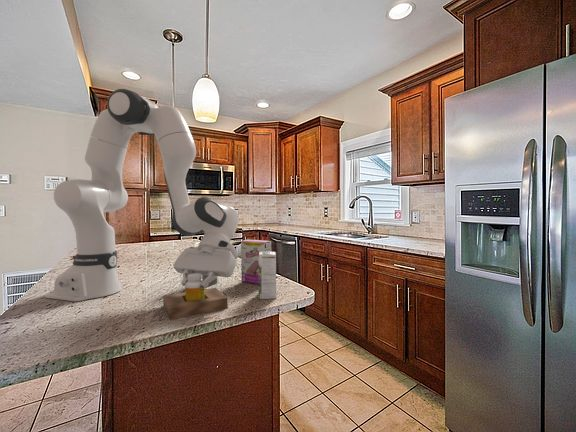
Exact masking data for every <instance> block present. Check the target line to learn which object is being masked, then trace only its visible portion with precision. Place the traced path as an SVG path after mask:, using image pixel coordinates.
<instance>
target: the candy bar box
mask: <svg viewBox="0 0 576 432" xmlns="http://www.w3.org/2000/svg"><path fill="white" fill-rule="evenodd" d="M240 244H241V245H240V251H241V252H240V253H241V255H240V256H241V257H240V258H241V260H240V261H241V283H246V284H253V285H254V284H255V285H258V267H259V252H265V251H270V252H272V241H271V240H263V239H262V240H259V239H243V240H241V241H240Z"/></svg>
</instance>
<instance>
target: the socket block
mask: <svg viewBox="0 0 576 432" xmlns="http://www.w3.org/2000/svg"><path fill="white" fill-rule="evenodd" d="M204 292H205V299H201V300H195V301H190V302H186V294H185V292H180V293H175V294H174V293H173V294H168V295H163V296H162V301H163V302H162V304H163V305H162V306H163V308H164V310H165V313H166V316H167V319H168V320H175V319H179V318H184V317H189V316H194V315H201V314H203V313H209V312H214V311H215V312H216V311H219V310H224V309H228V305H229V304H228V301H229V300H228V297H227V296H226V295H225V294H224V293H222V292H221V291H220V290H219V289H218V288H217V287H212V288H211V287H210V288H204Z"/></svg>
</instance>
